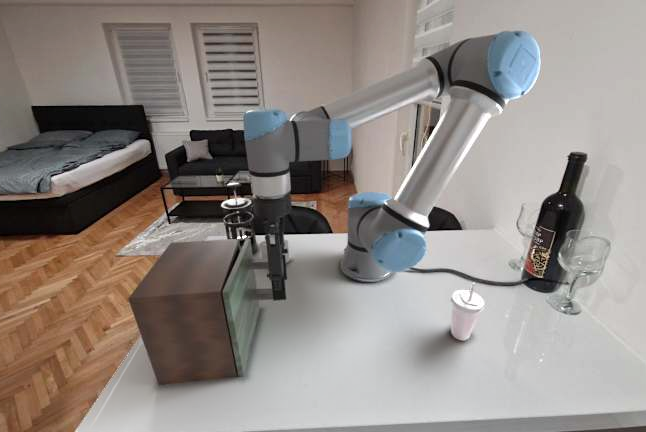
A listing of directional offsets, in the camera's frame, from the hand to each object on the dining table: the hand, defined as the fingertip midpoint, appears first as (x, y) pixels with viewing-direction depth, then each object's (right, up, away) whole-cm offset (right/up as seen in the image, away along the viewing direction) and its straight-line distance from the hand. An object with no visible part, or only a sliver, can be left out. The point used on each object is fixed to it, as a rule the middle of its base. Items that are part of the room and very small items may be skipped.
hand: (280, 288), depth 69 cm
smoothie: (+40, -10, -2) cm, 41 cm away
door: (-2, -10, -3) cm, 11 cm away
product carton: (-6, +2, +24) cm, 25 cm away
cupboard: (-14, -11, -4) cm, 18 cm away
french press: (-18, +5, +31) cm, 36 cm away
